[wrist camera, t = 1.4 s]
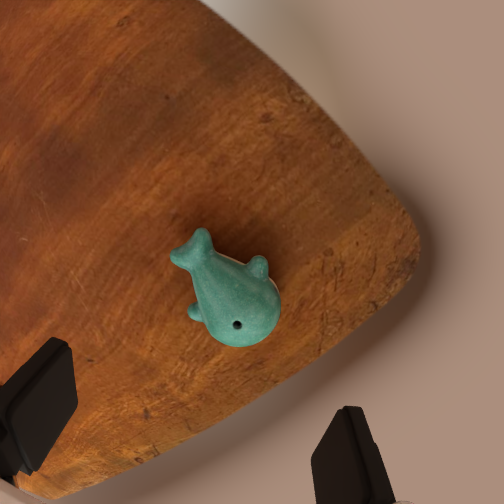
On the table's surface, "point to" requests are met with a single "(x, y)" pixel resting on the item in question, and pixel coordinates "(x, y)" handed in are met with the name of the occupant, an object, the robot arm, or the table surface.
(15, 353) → the table surface
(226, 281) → the whale figurine
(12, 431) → the robot arm
